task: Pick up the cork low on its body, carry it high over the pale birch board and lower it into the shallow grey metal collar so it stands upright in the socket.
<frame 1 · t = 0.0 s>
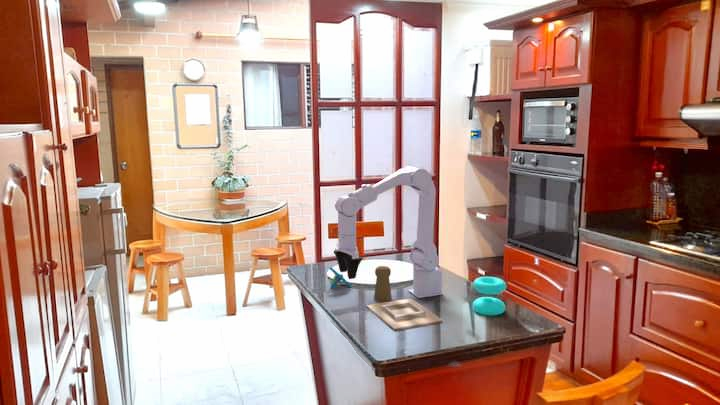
hand: (347, 275, 167), 10 cm above the kitchen island, tool pointing down, fingers open, 7 cm apart
teal angled piece: (340, 287, 187), on the kitchen island
donuts: (488, 311, 164), on the kitchen island
cork: (382, 299, 175), on the kitchen island
socket board: (403, 314, 161), on the kitchen island
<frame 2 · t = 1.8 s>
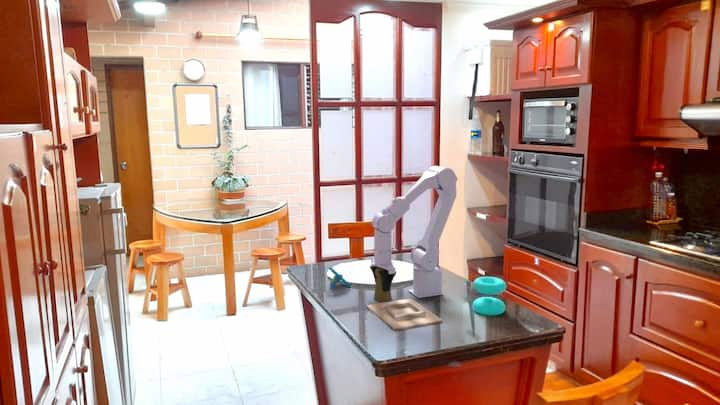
hand: (382, 288, 174), 3 cm above the kitchen island, tool pointing down, fingers closed on cork, 5 cm apart
cork: (382, 299, 175), on the kitchen island, touching gripper
everything else where it was.
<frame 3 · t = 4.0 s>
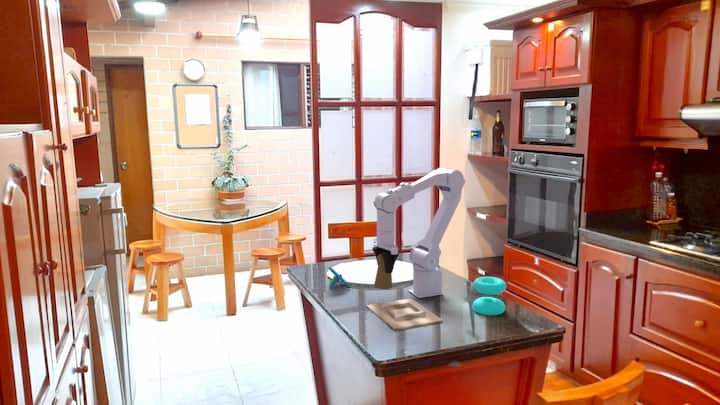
hand: (385, 270, 171), 10 cm above the kitchen island, tool pointing down, fingers closed on cork, 5 cm apart
cork: (383, 286, 172), point 5 cm above the kitchen island, touching gripper
everything else where it was.
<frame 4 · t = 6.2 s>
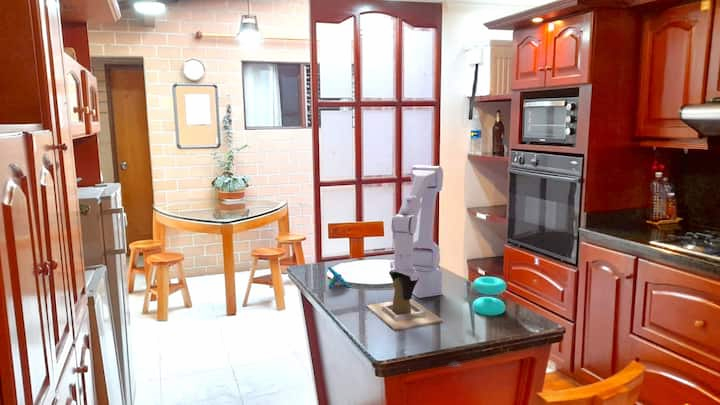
hand: (403, 296, 160), 6 cm above the kitchen island, tool pointing down, fingers closed on cork, 5 cm apart
cork: (401, 313, 161), resting on socket board, touching gripper
everything else where it was.
when the fingers open (6 cm above the kitchen island, at t = 6.8 s): cork stays where it is, resting on socket board.
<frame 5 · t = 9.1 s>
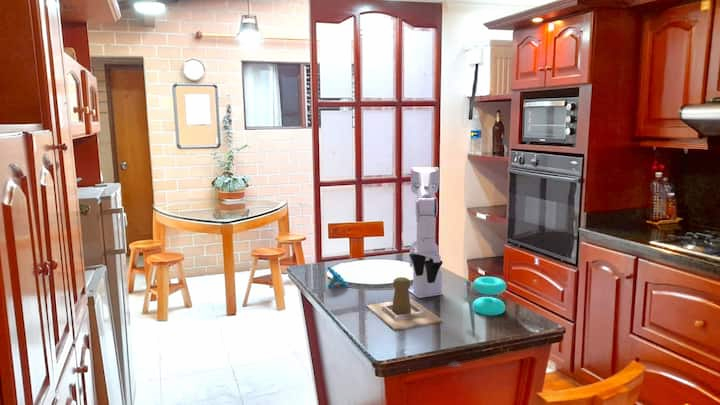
hand: (425, 278, 162), 10 cm above the kitchen island, tool pointing down, fingers open, 7 cm apart
cork: (401, 313, 161), resting on socket board
everything else where it was.
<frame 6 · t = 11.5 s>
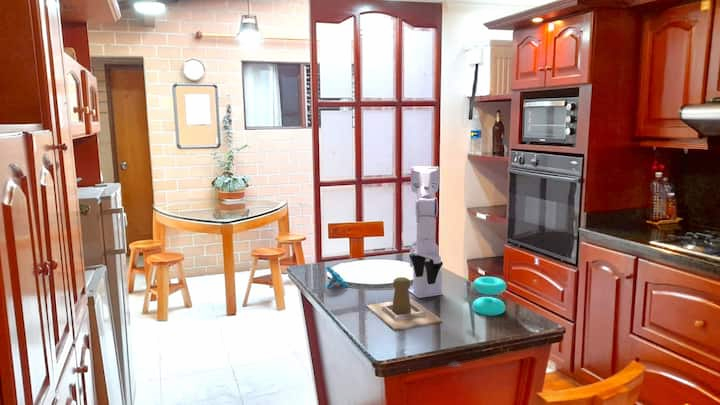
hand: (425, 280, 161), 10 cm above the kitchen island, tool pointing down, fingers open, 7 cm apart
at the end: cork 0.6 cm off-centre on the socket board, point 0.4 cm above the socket board's base; cork tilted 0°; the gripper is holding nothing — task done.
